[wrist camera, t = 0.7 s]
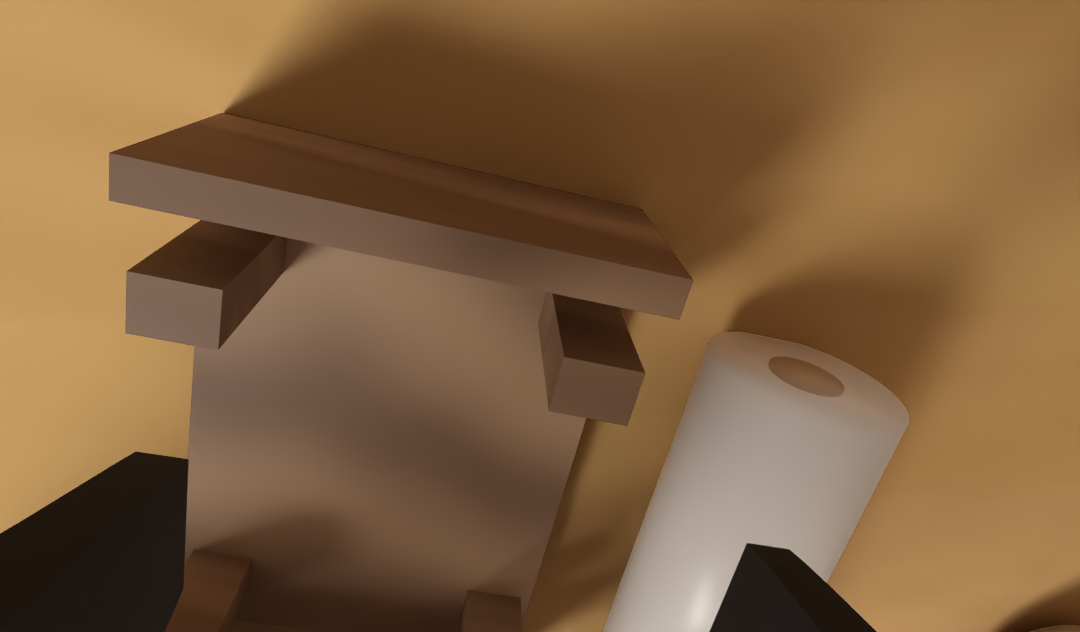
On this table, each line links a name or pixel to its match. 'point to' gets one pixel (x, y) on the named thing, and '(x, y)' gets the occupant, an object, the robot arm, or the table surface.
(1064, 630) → the plastic bottle
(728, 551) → the cylinder
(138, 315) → the holder
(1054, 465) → the table surface
